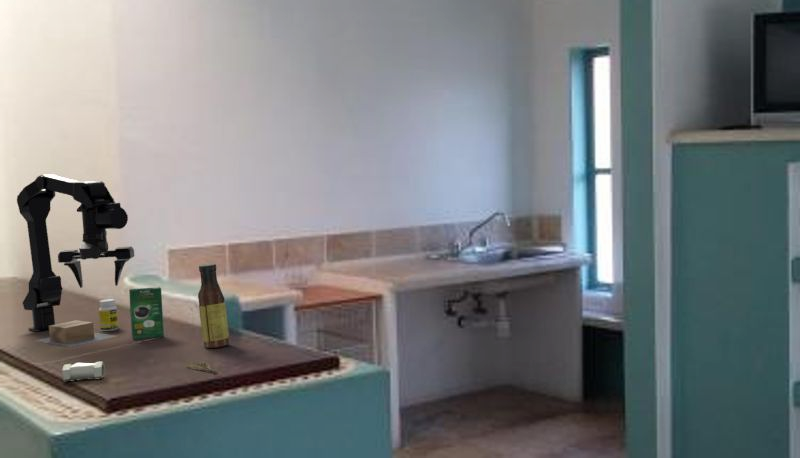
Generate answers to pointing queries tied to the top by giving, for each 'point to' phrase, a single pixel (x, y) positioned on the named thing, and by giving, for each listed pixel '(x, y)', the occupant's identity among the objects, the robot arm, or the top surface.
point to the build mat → (96, 338)
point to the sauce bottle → (212, 309)
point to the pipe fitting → (83, 371)
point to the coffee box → (146, 313)
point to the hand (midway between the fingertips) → (98, 286)
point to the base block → (71, 331)
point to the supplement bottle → (108, 315)
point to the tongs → (202, 368)
